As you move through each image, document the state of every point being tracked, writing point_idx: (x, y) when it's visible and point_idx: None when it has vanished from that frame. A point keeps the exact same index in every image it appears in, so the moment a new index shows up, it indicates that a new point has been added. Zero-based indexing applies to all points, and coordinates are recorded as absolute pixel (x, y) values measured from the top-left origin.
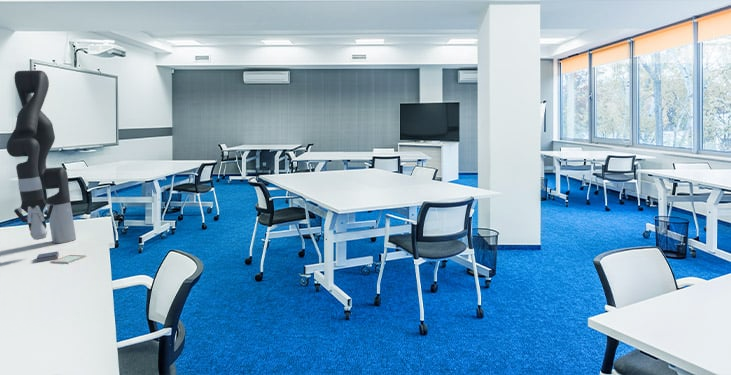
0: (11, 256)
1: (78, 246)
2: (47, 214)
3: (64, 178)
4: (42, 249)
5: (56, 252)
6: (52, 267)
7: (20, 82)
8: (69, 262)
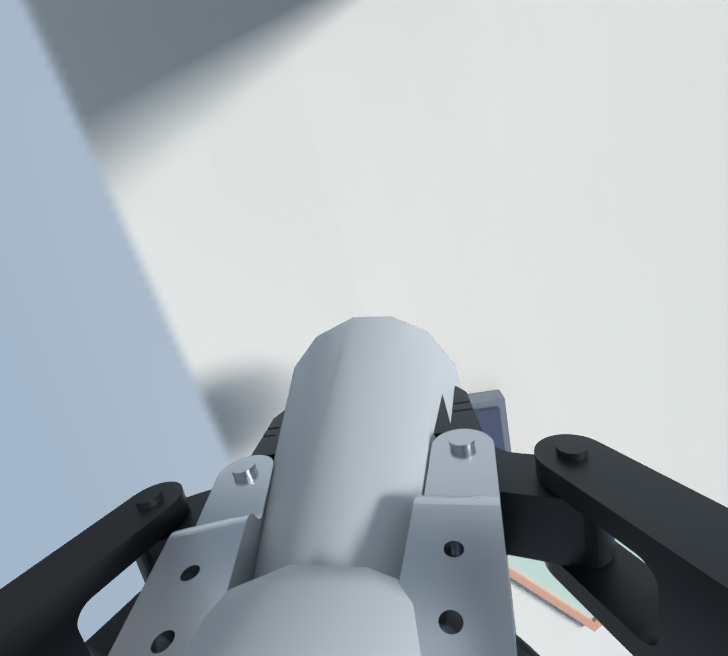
0: (164, 247)
1: (607, 177)
2: (620, 631)
3: None
4: (323, 122)
5: (501, 439)
6: None
7: None
8: (598, 621)
